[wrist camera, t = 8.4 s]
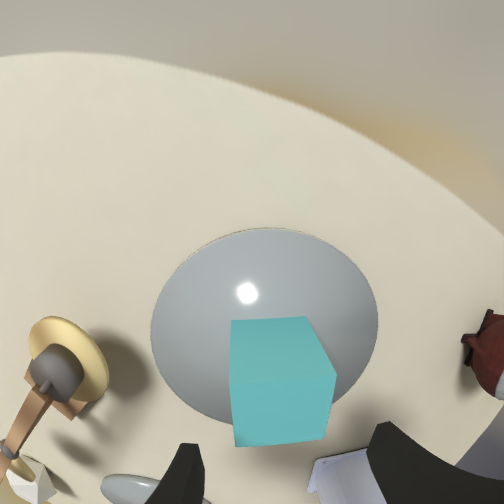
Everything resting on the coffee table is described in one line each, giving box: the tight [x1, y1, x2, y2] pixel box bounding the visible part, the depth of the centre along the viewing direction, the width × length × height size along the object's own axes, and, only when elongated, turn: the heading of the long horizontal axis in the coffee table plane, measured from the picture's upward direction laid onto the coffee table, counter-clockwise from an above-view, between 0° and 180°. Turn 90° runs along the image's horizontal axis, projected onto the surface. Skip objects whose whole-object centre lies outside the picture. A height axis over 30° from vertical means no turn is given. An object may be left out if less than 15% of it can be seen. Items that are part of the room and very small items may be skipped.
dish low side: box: [151, 228, 378, 425], centre depth 17 cm, size 15×15×1 cm
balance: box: [0, 316, 110, 483], centre depth 12 cm, size 21×6×12 cm, turn 136°
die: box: [6, 455, 57, 504], centre depth 18 cm, size 8×9×10 cm
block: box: [229, 316, 337, 447], centre depth 14 cm, size 4×4×6 cm
